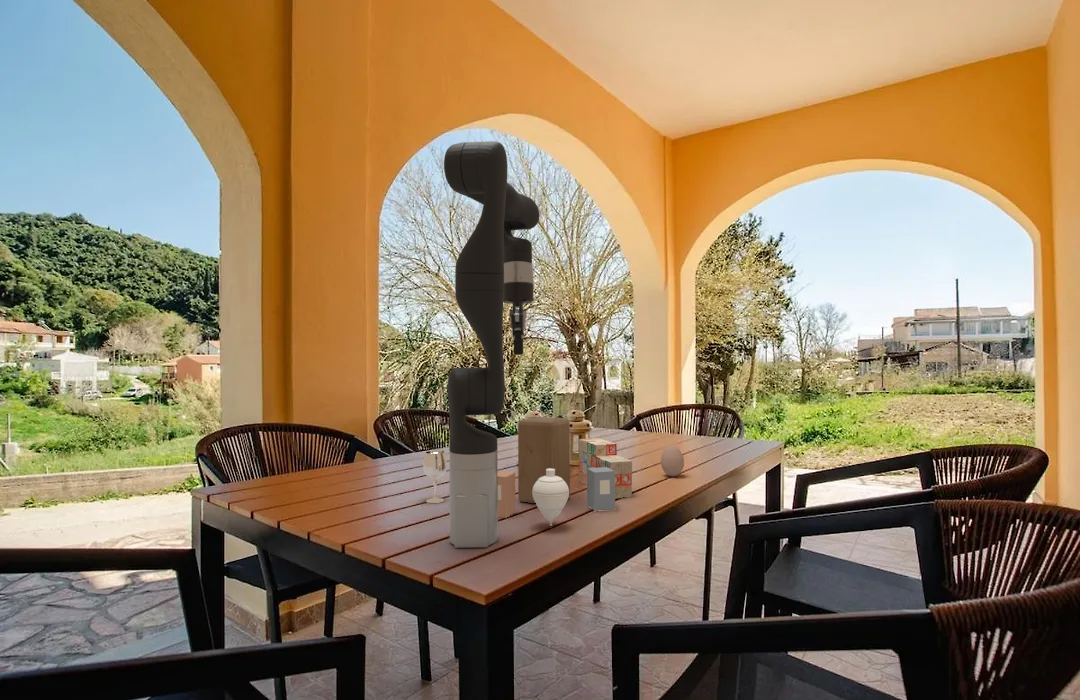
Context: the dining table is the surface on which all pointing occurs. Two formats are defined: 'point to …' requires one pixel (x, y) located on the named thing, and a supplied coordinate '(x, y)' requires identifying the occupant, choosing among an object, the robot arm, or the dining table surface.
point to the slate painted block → (601, 488)
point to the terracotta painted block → (506, 493)
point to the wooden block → (542, 452)
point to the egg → (672, 461)
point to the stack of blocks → (606, 463)
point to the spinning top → (550, 495)
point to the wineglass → (435, 469)
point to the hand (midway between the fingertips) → (518, 354)
